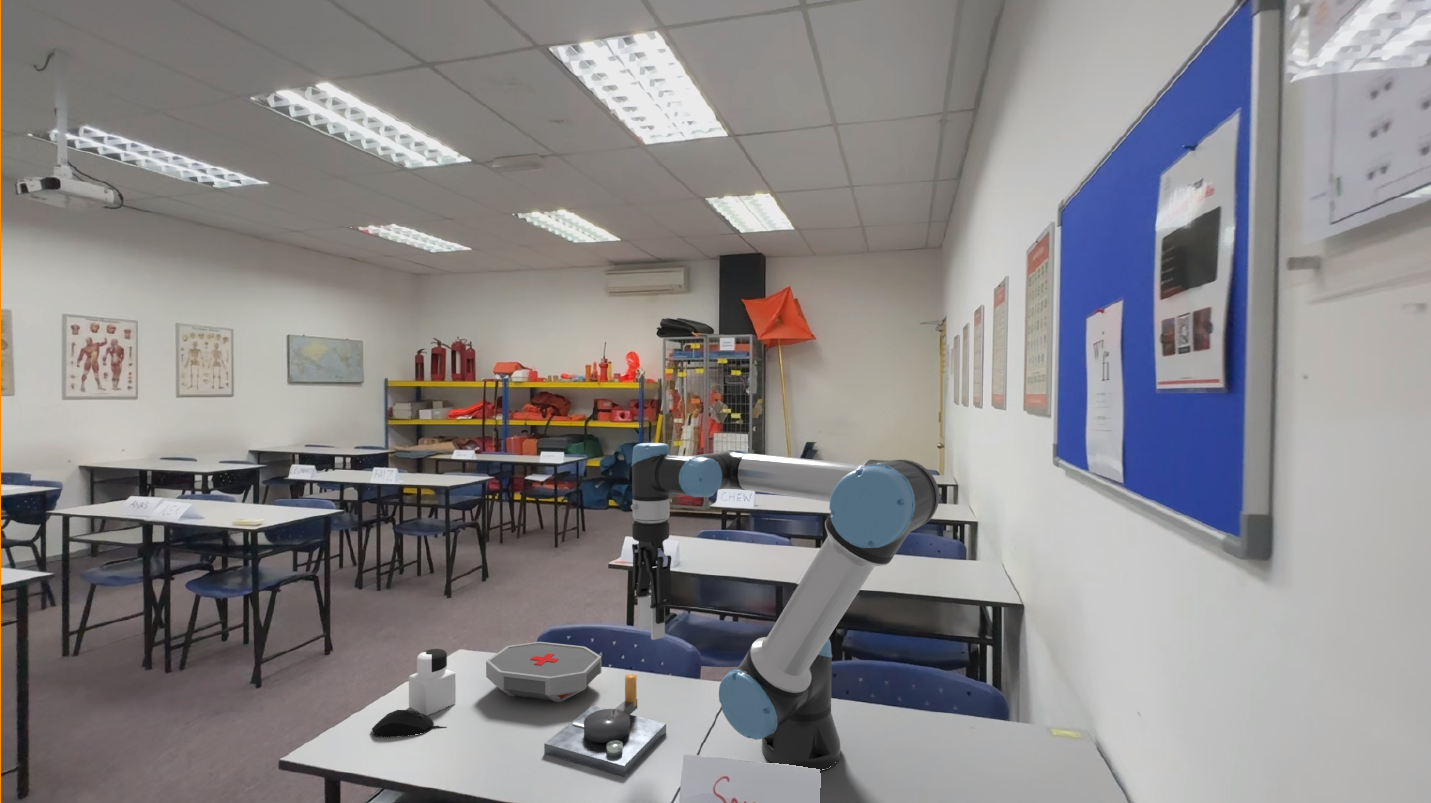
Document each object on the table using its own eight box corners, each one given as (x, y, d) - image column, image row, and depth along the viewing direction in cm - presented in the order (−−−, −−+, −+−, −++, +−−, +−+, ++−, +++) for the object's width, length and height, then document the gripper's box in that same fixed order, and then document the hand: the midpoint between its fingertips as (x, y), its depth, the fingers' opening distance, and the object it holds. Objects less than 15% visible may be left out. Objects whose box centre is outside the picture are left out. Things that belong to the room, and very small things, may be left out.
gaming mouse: (441, 737, 128) (441, 717, 128) (366, 739, 127) (366, 720, 127) (452, 720, 134) (452, 702, 134) (380, 723, 133) (380, 704, 133)
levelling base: (666, 732, 129) (666, 716, 129) (624, 776, 114) (624, 758, 114) (592, 714, 136) (592, 699, 136) (544, 753, 121) (544, 736, 121)
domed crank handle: (613, 746, 119) (613, 710, 119) (574, 736, 123) (574, 700, 123) (652, 710, 133) (652, 677, 132) (615, 702, 136) (615, 670, 136)
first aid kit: (474, 701, 142) (576, 715, 136) (474, 668, 142) (575, 681, 136) (517, 668, 159) (609, 679, 153) (517, 639, 159) (609, 649, 153)
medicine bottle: (438, 694, 145) (438, 643, 145) (456, 703, 141) (455, 650, 141) (408, 707, 139) (407, 653, 139) (425, 717, 135) (425, 661, 135)
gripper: (615, 513, 134) (616, 621, 134) (654, 530, 118) (654, 653, 118) (648, 510, 138) (648, 615, 138) (689, 525, 122) (689, 644, 122)
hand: (651, 632), depth 128 cm, fingers open, 6 cm apart
